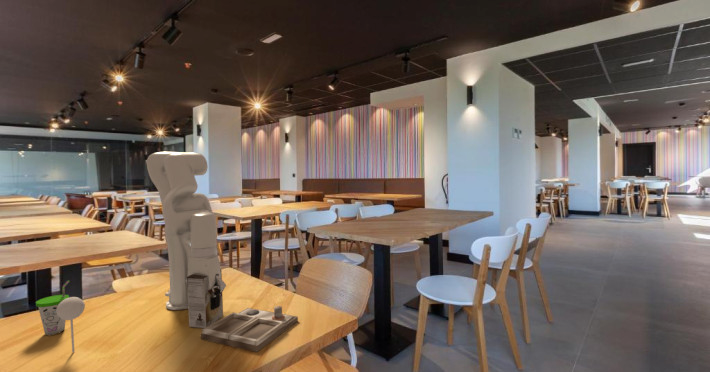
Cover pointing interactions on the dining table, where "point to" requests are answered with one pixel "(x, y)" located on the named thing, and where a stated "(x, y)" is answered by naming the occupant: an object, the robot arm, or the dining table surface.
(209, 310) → the coffee box
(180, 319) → the dining table surface
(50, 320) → the cup
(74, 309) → the lollipop
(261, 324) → the grey compartment tray
